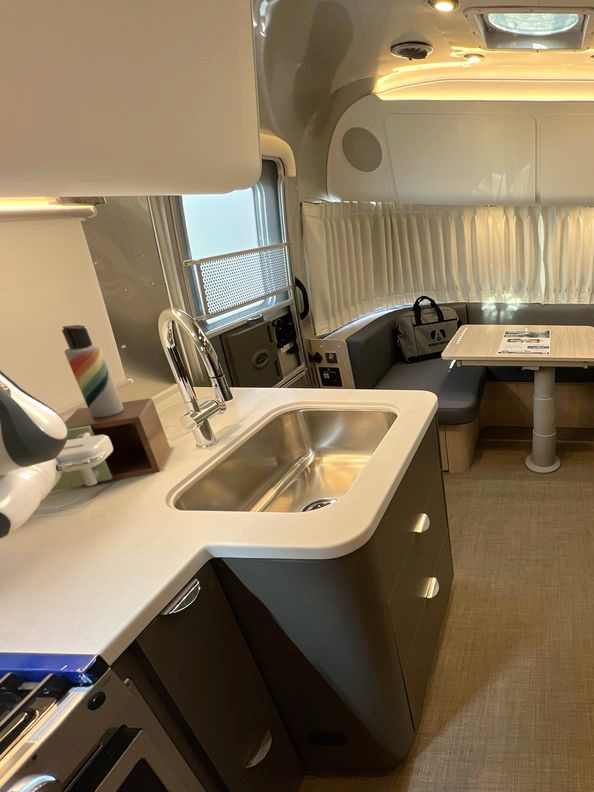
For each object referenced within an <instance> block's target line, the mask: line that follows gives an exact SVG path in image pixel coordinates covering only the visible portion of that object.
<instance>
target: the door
mask: <svg viewBox="0 0 594 792" xmlns="http://www.w3.org/2000/svg"><path fill="white" fill-rule="evenodd" d="M68 431H69V435H68V439H67V440H71V439H77V436H78V435H79V434H82V433H88V432H89V433H90V435H91V436H95V435H94V433H93V431H92V429H91V426H84V427H77V428H71V429H68ZM111 479H112V475H111V472H110V470H109V468H108V465H107V463H106V461H105V460H104V461H102V462H101V463H100V464H98V465H96V466H93V467H90V468H86V469H80V470H74V471H69V472H63V473H62V474H61V478H60V480H59V481H58V482H57V484H56V485H55V486H54V487H53V489H52V490H51V491H50V492H54V491H59V490H63V489H68V488H69V489H70V488H73V487H80V486H83V485H85V484H86V487H92V486H94V485H97V484H98V483H97V482H100V481H105V480H111Z"/></svg>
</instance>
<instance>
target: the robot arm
mask: <svg viewBox="0 0 594 792" xmlns="http://www.w3.org/2000/svg"><path fill="white" fill-rule="evenodd" d="M65 422H66V421H65V420H64V419H63V417H62V416H61V415H60V414H59V413H58V412H56V411H55V410H54V409H53V408H52V407H50V406H49V405H47V404H46V403H44V402H43V401H41V400H39V399H38V398H36V397H35V396H33V395H32V394H30V393H29V392H28V391H26V390H25V389H24V388H23V387H22V386H20V385H19V384H18V383H17V382H16V381H14V380H13V379H12V378H11V377H9V375H7V374H6V373H5V372H4V371H3V370H2V369H0V540H1V539H3V538H5V537H8V536H9V535H11V534H12V533H14V532H15V531H16V530H18V529H19V528H20V527H21V526H23V524H24V523H25V522H27V520H29V518H30V517H31V516H32V515H33V514H34V512H36V510H38V508H39V506H40V504H41V502H42V501H43V500H44V499H45V498H46V497H47V496H48V495H49V494H50V492H52V491H51V490H52V489H53V487H54V486H55V485H56V484H57V482H58V481H59V480H60V478H61V474H62V473H63V472H69V471H74V470H80V469H86V468H90V467H93V466H96V465H98V464H100V463H101V462H102V461H104V460H105V459H106V458H107V457H108V456H109V455H110V454H111V453H112V451H113V446H112V443H111V441H110V439H109V437H108V436H106V435H96V436H91V435H90V433H89V432H88V433H82V434H79V435H78V436H77V439H71V440H67V439H68V435H69V431H68V427H67V425H66V423H65Z"/></svg>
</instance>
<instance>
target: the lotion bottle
mask: <svg viewBox="0 0 594 792" xmlns="http://www.w3.org/2000/svg"><path fill="white" fill-rule="evenodd" d="M61 333H62V335H63V337H64V339H65V341H66V344H67V346H68V348H67V349H65V350H64V355H65V357H66V360H67V363H68V365H69V367H70V368H71V371H72V374H73V376H74V378H75V381H76V383H77V385H78V387H79V390H80V392H81V395H82V397H83V399H84V402H85V404H86V407H88V409H89V411H90V413H91V415H92V416H93V417H107V416H111V415H115V414H117V413H120V412H121V411H123V405H122V402H123V401H122V399H121V397H120V395H119V392H118V390H117V387H116V385H115V382H114V379H113V377H112V374H111V372H110V369H109V367H108V364H107V361H106V359H105V357H104V354H103V352H102V349H101V347H100V345H98V344H93V342H92V339H91V336H90V334H89V332H88V329H87V327H86V326H85V325H79V324H77V325H75V324H74V325H65V326H62V329H61Z"/></svg>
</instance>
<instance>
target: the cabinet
mask: <svg viewBox="0 0 594 792" xmlns="http://www.w3.org/2000/svg"><path fill="white" fill-rule="evenodd" d="M121 402H122V405H123V411H121V412H120V413H117V414H115V415H111V416H107V417H93V416H92V415H91V413H90V411H89V409H88V406H86V407H82V408H81V407H80V408H77V409H76V410H75V411H74V412H73V413H72V414H71V415H70V416H69V417H68V418H67V419H66V420H65V421H64V422H65V423H66V425H67V427H68V429H71V428H77V427H84V426H91V429H92V431H93V433H94V435H95V436H96V435H106V436H108V437H109V439H110V441H111V443H112V446H113V451H112V453H111V454H110V455H109V456H108V457H107V458H106V459H105V461H106V463H107V465H108V468H109V470H110V472H111V475H112V479H111V480H105V481H100V482H97V484H102V483H106V482H111V481H116V480H121V479H127V478H133V477H137V476H142V475H143V476H144V475H147V474H152V473H158V472H160V471H161V470H162V467H163V465H164V463H165V461H166V459H167V457H168V455H169V453H170V450H171V446H170V444H169V441H168V438H167V436H166V433H165V430H164V427H163V424H162V422H161V418H160V417H159V413H158V410H157V408H156V406H155V403H154V400H153V398H152V397H150V398H149V397H148V398H143V399H135V400H129V401H121ZM82 486H83V487H87V485H86V484H85V485H82Z"/></svg>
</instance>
